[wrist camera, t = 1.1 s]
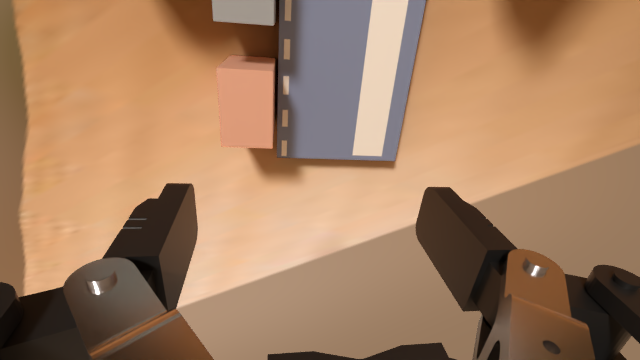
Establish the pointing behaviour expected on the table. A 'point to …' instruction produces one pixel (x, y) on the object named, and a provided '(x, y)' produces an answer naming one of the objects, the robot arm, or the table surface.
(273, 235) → the table surface
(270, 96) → the stub terracotta
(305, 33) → the ticket slab
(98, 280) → the robot arm
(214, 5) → the stub grey
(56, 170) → the table surface
